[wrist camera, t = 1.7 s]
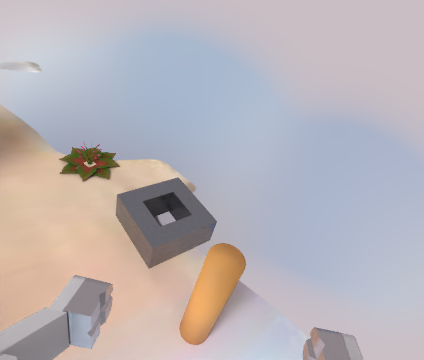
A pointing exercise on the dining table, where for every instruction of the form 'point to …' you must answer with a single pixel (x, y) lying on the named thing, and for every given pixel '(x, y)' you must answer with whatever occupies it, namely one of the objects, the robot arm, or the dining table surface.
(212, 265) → the orange cylinder
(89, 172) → the green flowering plant
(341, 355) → the robot arm
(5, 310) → the dining table surface
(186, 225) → the gray square socket block
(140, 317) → the dining table surface
